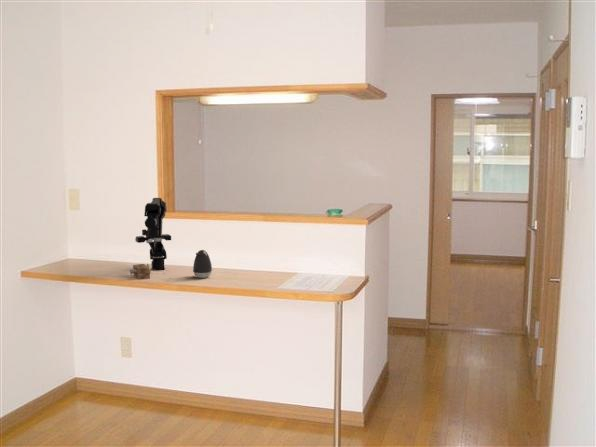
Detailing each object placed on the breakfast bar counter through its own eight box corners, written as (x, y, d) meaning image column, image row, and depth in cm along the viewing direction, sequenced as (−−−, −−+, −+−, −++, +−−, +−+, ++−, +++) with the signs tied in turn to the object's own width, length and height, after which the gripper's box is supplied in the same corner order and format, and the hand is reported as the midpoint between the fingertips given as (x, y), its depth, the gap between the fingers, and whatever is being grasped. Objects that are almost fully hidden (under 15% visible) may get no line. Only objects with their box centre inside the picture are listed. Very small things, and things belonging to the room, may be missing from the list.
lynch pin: (147, 273, 340) (147, 263, 339) (150, 275, 335) (150, 265, 334) (129, 275, 335) (129, 265, 334) (131, 277, 330) (131, 266, 330)
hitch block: (144, 274, 342) (144, 263, 341) (149, 278, 332) (149, 267, 331) (133, 275, 339) (133, 264, 339) (138, 279, 329) (138, 268, 328)
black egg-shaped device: (189, 278, 332) (188, 250, 330) (200, 274, 341) (200, 247, 339) (204, 280, 327) (203, 252, 325) (215, 276, 336) (215, 249, 334)
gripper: (165, 223, 350) (165, 250, 352) (132, 225, 341) (133, 252, 343) (171, 225, 340) (172, 253, 342) (137, 227, 331) (138, 256, 333)
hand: (153, 253), depth 340 cm, fingers closed
